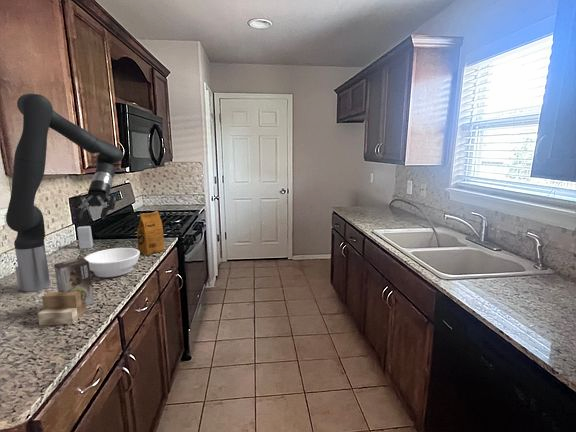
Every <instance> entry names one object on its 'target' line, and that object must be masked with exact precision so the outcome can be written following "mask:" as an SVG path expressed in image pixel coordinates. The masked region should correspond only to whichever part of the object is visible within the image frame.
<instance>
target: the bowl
mask: <svg viewBox="0 0 576 432" xmlns="http://www.w3.org/2000/svg"><path fill="white" fill-rule="evenodd" d="M140 254H141V253H140V251H139V250H138V248H133V247H115V248H109V249H108V248H107V249H103V250H99V251H94V252H92V253H89V254H87V255H85V256H84V257H83V258H84V259H86V260H87V261H89V267H90V272H91V271H92V272H93V274H94V275H95V276H96V277H99V278H113V277H119V276H123V275H126V274H129V273H130V272H132V271H133V269H134V267H135V265H136V264H137V263H138V262H139V258H140Z"/></svg>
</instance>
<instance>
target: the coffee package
mask: <svg viewBox="0 0 576 432" xmlns="http://www.w3.org/2000/svg"><path fill="white" fill-rule="evenodd" d="M139 217H140V218H139V223H138V226H137V229H136V237H137V250H139V251H140V254H142V255H144V256H148V255H152V254H157V253H160V252H163V251H165V239H164V227H163V221H162V218H161V216H160V214H159V211H158V210H155V211H153V212H151V213H149V212H147V213H139Z"/></svg>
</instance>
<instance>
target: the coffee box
mask: <svg viewBox="0 0 576 432" xmlns="http://www.w3.org/2000/svg"><path fill="white" fill-rule="evenodd" d="M53 266H54V273H55V278H56V279H55V280H56V284H57V286H56V287H57V292H77V291H80V296H81V302H86V307H87V306H89V305H93V304H95V297H94V290H93V283H92V282H93V281H92V275H91V270H90V267H89V261H87V260H86V259H84V257H81V258H80V257H79V258H75V259H71V260H68V261H67V260H66V261H61V262H58V263H54V265H53Z"/></svg>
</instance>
